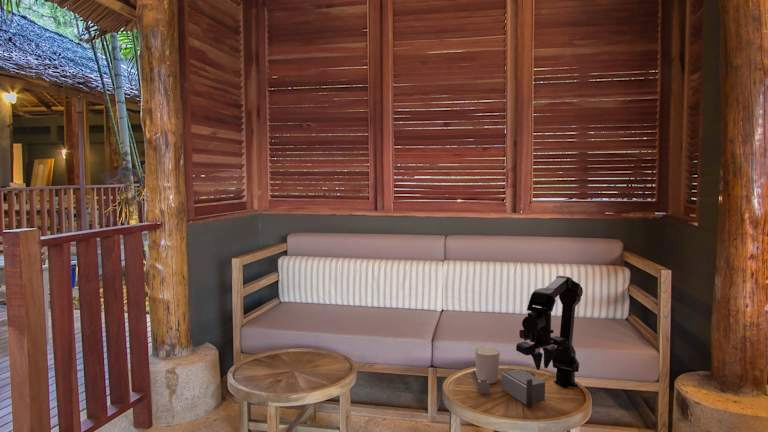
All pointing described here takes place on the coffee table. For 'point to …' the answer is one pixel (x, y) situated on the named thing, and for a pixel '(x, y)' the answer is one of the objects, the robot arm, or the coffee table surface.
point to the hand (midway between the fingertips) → (541, 368)
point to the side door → (518, 389)
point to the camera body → (537, 383)
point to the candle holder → (487, 363)
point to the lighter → (481, 383)
